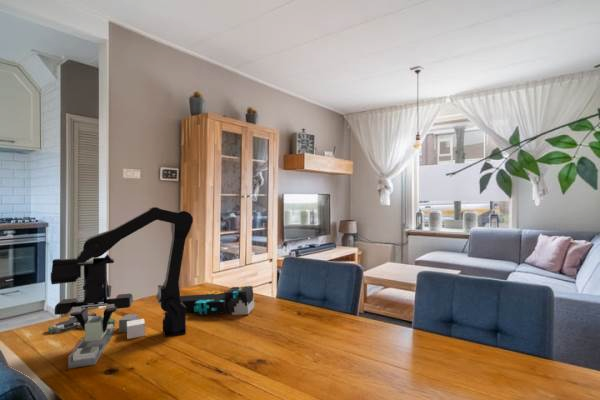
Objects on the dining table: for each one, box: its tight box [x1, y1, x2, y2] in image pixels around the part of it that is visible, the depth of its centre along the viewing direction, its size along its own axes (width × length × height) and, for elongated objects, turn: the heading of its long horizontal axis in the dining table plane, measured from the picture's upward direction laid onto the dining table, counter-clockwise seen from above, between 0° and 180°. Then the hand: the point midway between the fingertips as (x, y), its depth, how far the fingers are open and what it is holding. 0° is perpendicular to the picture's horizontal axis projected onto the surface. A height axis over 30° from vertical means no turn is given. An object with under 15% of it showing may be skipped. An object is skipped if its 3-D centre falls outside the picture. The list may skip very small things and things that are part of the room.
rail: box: [67, 324, 115, 369], centre depth 96 cm, size 6×22×3 cm, turn 18°
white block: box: [118, 313, 139, 333], centre depth 110 cm, size 4×5×4 cm
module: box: [84, 314, 106, 342], centre depth 96 cm, size 4×6×5 cm, turn 18°
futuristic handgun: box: [47, 312, 116, 335], centre depth 112 cm, size 3×19×15 cm
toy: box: [180, 285, 255, 316], centre depth 128 cm, size 15×8×30 cm
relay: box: [126, 318, 146, 340], centre depth 105 cm, size 5×5×4 cm
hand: (96, 332), depth 96 cm, fingers closed on module, 4 cm apart
